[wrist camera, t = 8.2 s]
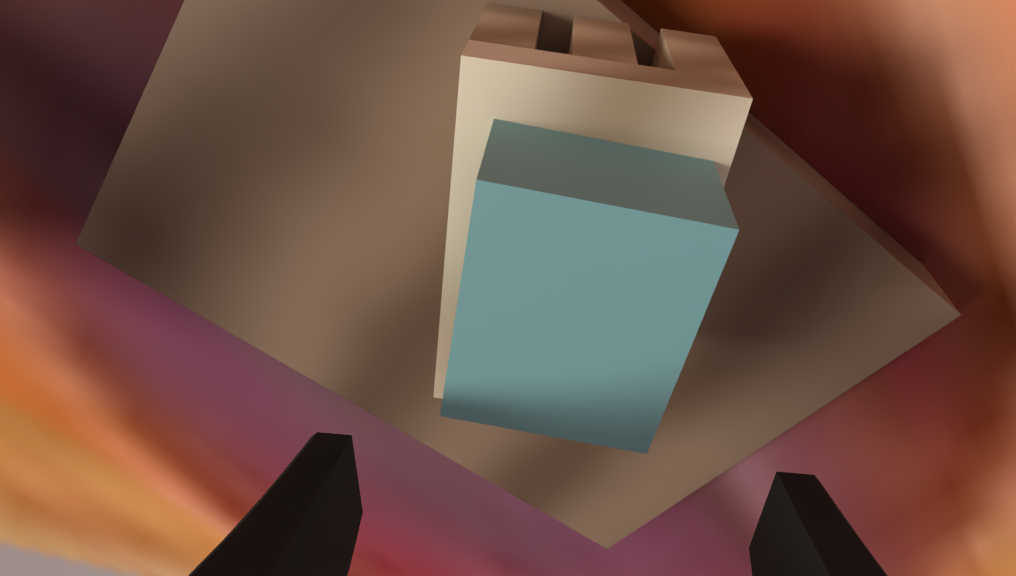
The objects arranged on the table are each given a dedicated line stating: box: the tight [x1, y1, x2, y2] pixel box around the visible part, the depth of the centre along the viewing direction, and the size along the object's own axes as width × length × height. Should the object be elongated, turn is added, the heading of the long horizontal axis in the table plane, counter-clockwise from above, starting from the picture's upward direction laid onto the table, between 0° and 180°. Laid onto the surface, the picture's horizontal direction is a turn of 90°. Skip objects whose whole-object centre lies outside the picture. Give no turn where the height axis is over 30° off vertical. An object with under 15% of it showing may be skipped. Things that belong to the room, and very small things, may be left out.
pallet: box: [434, 3, 753, 399], centre depth 16 cm, size 5×8×4 cm, turn 173°
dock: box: [76, 0, 961, 549], centre depth 20 cm, size 20×14×2 cm
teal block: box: [440, 119, 739, 454], centre depth 13 cm, size 4×5×2 cm
